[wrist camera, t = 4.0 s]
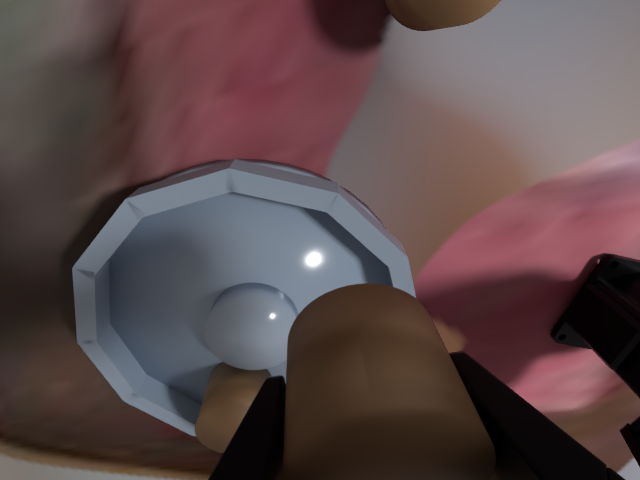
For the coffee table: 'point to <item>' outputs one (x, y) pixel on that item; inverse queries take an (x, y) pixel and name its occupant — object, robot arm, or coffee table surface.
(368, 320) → the bead
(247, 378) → the wooden rounded peg
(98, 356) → the groove tray
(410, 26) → the bead
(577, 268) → the coffee table surface
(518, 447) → the robot arm
